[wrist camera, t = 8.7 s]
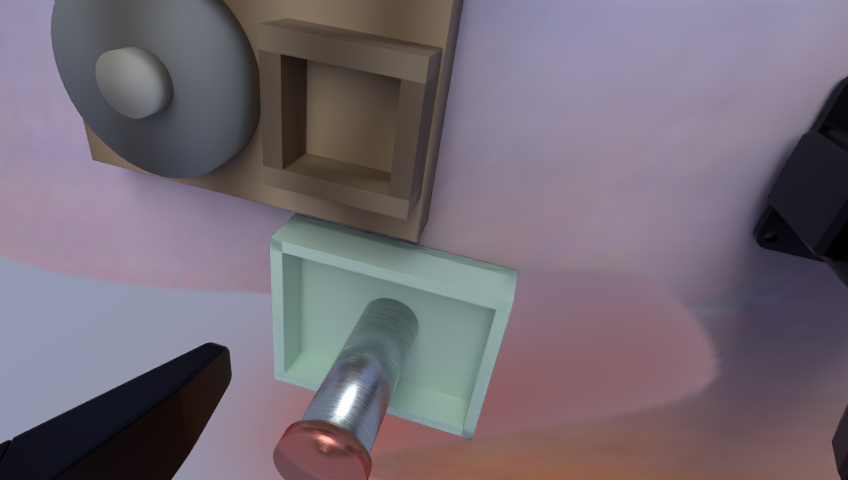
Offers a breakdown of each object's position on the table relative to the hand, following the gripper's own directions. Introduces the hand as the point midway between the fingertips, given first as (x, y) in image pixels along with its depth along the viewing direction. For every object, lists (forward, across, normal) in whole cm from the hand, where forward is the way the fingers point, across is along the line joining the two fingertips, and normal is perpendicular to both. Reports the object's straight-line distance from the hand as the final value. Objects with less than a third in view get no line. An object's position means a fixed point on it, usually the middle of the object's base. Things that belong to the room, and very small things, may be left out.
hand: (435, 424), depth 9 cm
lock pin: (+12, +4, +9) cm, 16 cm away
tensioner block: (+13, +11, -2) cm, 17 cm away
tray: (+13, +4, +9) cm, 16 cm away
